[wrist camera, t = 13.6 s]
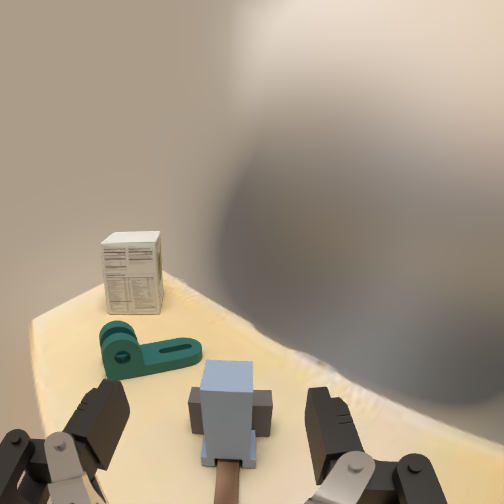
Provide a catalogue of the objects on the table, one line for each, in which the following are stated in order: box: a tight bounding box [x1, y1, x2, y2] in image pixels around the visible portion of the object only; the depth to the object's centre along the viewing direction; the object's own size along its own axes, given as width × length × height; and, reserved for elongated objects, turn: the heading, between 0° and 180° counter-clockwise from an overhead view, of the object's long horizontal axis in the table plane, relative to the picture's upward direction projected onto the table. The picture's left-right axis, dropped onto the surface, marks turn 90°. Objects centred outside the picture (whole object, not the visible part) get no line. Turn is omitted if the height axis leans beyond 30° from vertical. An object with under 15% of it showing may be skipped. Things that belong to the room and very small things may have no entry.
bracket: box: [99, 321, 202, 381], centre depth 47 cm, size 18×7×8 cm, turn 120°
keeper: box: [200, 360, 256, 468], centre depth 29 cm, size 6×5×13 cm
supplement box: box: [100, 231, 164, 314], centre depth 69 cm, size 13×13×18 cm
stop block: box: [188, 387, 273, 437], centre depth 34 cm, size 10×3×6 cm, turn 90°
